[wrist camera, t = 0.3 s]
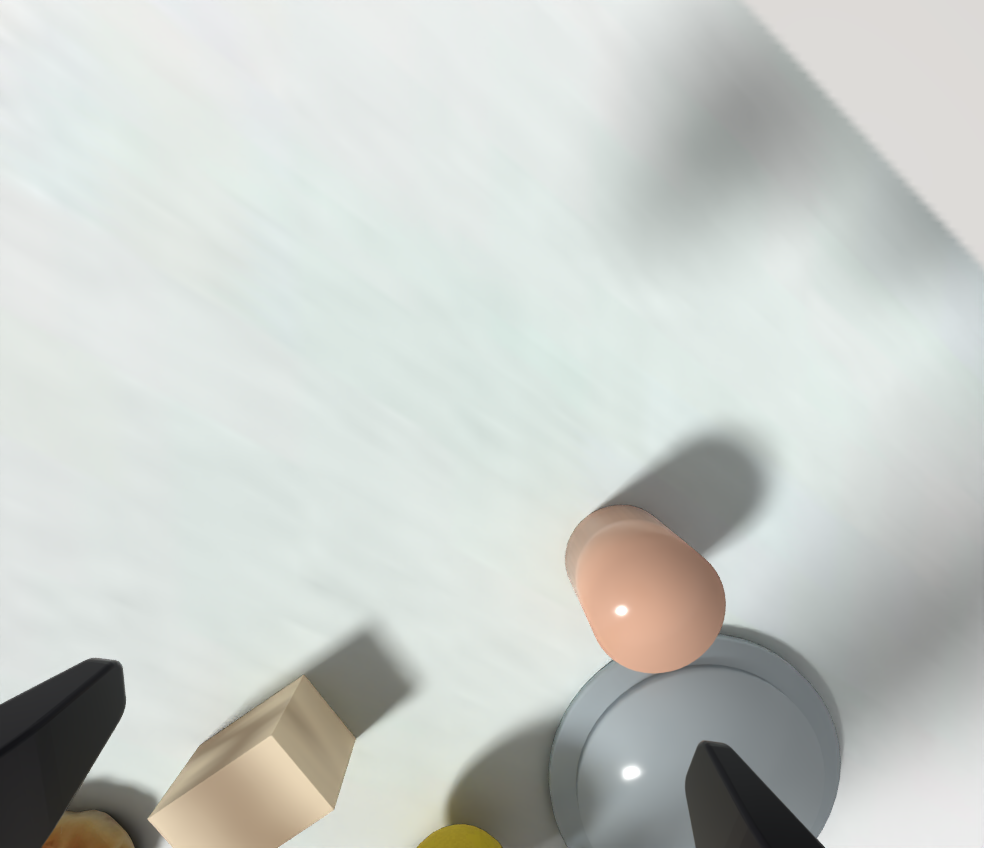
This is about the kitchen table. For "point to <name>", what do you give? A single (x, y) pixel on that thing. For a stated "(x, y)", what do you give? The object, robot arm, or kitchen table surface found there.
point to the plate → (687, 745)
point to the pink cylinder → (644, 590)
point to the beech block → (260, 776)
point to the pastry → (88, 832)
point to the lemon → (460, 838)
